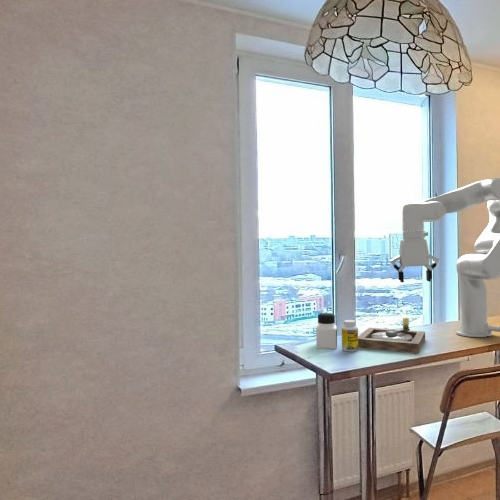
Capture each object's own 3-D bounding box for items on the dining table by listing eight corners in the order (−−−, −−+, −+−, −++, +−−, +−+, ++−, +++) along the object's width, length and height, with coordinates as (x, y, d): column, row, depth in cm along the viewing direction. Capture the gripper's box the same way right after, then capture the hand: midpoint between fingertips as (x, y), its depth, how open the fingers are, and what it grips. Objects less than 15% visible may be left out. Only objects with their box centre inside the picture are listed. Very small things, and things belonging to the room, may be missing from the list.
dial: (395, 346, 150) (394, 325, 150) (363, 339, 162) (363, 320, 161) (424, 339, 159) (423, 320, 159) (392, 333, 171) (392, 315, 171)
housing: (425, 340, 164) (425, 331, 164) (418, 353, 146) (418, 343, 146) (368, 335, 174) (368, 327, 174) (355, 347, 155) (355, 338, 155)
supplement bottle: (346, 352, 149) (346, 322, 149) (339, 348, 154) (338, 320, 154) (361, 351, 150) (360, 321, 150) (353, 347, 156) (352, 318, 155)
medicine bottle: (336, 349, 154) (336, 315, 154) (316, 348, 155) (315, 315, 155) (337, 344, 161) (336, 311, 161) (317, 343, 162) (316, 311, 162)
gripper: (434, 234, 166) (436, 279, 167) (387, 237, 168) (389, 281, 169) (440, 234, 159) (442, 281, 159) (391, 237, 161) (393, 283, 161)
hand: (415, 281), depth 164 cm, fingers open, 9 cm apart
